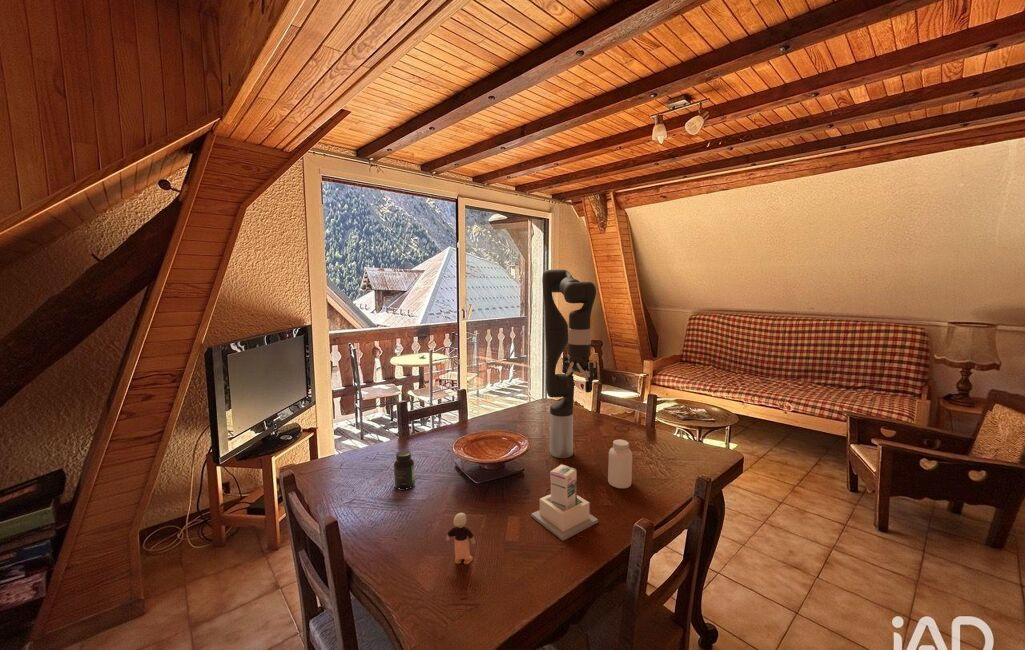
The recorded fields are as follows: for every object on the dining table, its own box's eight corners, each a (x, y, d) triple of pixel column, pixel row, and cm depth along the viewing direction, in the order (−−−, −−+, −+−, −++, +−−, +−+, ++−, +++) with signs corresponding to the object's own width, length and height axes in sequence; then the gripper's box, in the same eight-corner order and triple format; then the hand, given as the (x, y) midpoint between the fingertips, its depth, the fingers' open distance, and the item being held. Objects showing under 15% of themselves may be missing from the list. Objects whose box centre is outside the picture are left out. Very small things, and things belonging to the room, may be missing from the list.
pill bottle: (632, 490, 136) (633, 447, 134) (608, 488, 137) (609, 446, 136) (630, 478, 144) (631, 438, 142) (607, 476, 145) (608, 436, 143)
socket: (531, 516, 122) (531, 498, 121) (565, 501, 130) (565, 483, 129) (562, 540, 110) (562, 520, 110) (598, 522, 118) (598, 503, 118)
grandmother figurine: (476, 554, 105) (475, 509, 104) (476, 564, 102) (474, 517, 100) (447, 555, 105) (445, 510, 104) (445, 565, 101) (443, 518, 100)
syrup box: (567, 524, 116) (567, 476, 114) (550, 516, 120) (550, 470, 118) (577, 514, 121) (577, 468, 119) (560, 508, 124) (560, 463, 123)
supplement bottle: (418, 485, 141) (417, 452, 140) (401, 493, 136) (400, 459, 135) (408, 478, 146) (406, 447, 144) (391, 486, 141) (389, 453, 139)
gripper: (556, 340, 138) (556, 386, 140) (587, 345, 126) (586, 396, 128) (572, 338, 142) (572, 383, 144) (603, 343, 131) (602, 391, 132)
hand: (579, 389), depth 136 cm, fingers open, 8 cm apart
